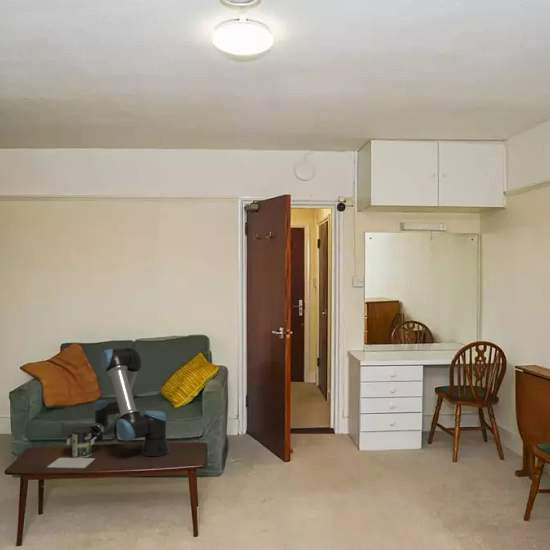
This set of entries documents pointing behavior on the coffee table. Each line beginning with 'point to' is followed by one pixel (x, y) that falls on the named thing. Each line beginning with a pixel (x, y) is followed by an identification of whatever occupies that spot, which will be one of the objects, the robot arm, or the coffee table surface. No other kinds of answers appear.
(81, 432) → the coffee can
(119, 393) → the robot arm
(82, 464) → the mat
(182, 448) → the coffee table surface
